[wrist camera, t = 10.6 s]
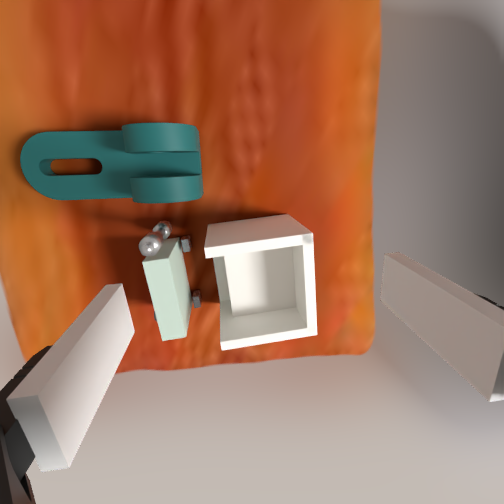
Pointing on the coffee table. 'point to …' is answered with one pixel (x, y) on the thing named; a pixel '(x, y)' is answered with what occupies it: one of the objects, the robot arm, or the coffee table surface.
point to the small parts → (155, 242)
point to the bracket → (119, 163)
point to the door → (169, 289)
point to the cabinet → (263, 280)
